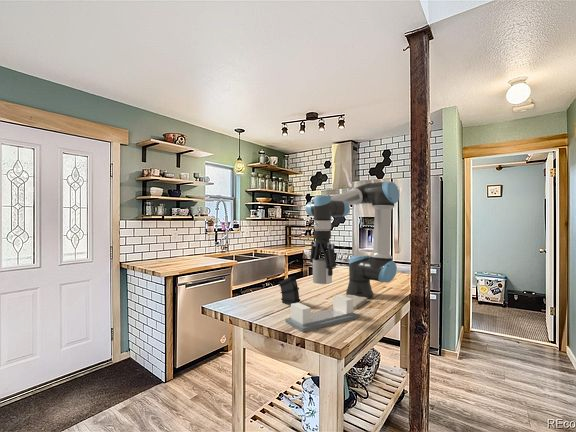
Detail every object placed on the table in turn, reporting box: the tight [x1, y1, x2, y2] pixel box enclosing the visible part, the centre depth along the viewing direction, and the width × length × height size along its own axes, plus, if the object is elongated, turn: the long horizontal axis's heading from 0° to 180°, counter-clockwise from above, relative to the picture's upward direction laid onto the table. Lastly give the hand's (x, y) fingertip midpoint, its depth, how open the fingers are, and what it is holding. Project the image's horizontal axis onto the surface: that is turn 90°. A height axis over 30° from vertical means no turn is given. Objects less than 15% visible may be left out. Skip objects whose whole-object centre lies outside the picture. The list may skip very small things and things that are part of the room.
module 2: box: [332, 294, 354, 314], centre depth 140 cm, size 4×9×6 cm, turn 32°
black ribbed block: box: [278, 275, 301, 307], centre depth 156 cm, size 4×13×15 cm, turn 40°
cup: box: [312, 257, 330, 285], centre depth 133 cm, size 8×8×10 cm
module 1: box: [290, 302, 312, 324], centre depth 127 cm, size 4×9×6 cm, turn 32°
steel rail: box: [290, 308, 354, 326], centre depth 133 cm, size 28×9×1 cm, turn 122°
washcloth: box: [344, 295, 368, 310], centre depth 158 cm, size 12×18×3 cm, turn 146°
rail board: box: [285, 311, 360, 333], centre depth 133 cm, size 31×13×2 cm, turn 122°
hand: (322, 280), depth 133 cm, fingers closed on cup, 8 cm apart
